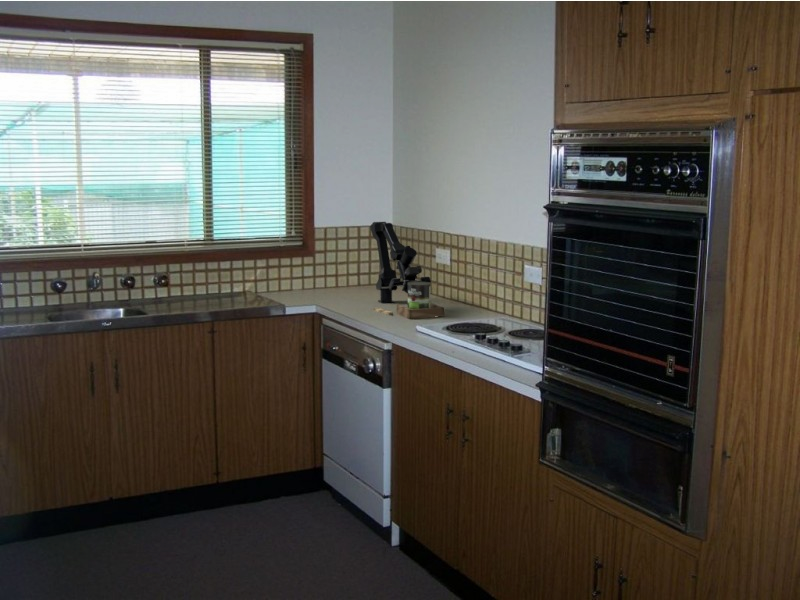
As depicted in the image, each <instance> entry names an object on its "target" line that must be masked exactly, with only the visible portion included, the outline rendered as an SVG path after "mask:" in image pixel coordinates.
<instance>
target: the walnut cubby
mask: <svg viewBox="0 0 800 600" xmlns="http://www.w3.org/2000/svg"><path fill="white" fill-rule="evenodd" d="M396 314H397V315H399V316H402V317H403V316H404V317H403V318H405V319H408V320H415V319H417V320H419V319H429V318H428V317H432V318H436V317H435V316H444V317H445V307H443V306H442V305H438V304H437V303H433V302H431V301H430V308H424V309H409V308H408V307H406V306H403V305H401V304H396Z"/></svg>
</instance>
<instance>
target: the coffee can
mask: <svg viewBox="0 0 800 600" xmlns="http://www.w3.org/2000/svg"><path fill="white" fill-rule="evenodd" d="M431 285H432V283H431V282H430V283H429V282H424V281H413V282H408V294H407V308H409V309H424V308H430V302H431Z"/></svg>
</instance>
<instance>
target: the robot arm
mask: <svg viewBox="0 0 800 600" xmlns="http://www.w3.org/2000/svg"><path fill="white" fill-rule="evenodd" d="M370 232H371V235H372V237H373V239H374V240H375V241H376V246H377V251H378V257H379V258H378V259H379V264H380V265H379V266H380V272H379V273H378V280H377V282H376V283H375V287H376V288H375V289H376V290H378V291H379V294H380V295H379V297H380V299H379V300H378V299H377V302H379V303H382V304H389V303H390V304H391V303H396V302H395V300H393V291H397V289H398V287H402V289H401V291H402V292H404V293H406V294H407V295H408V282H413V281H424V282H429V283H431V282H432V280H431V277H430V276H421V277H420V279H417V278H418V276H417V275H419V274H421V273H422V272H423V269H422V266H421V265H416V266H411V264H413V262H414V261H415V258H416V256H417V253H418V252H417V250H415V249H414V248H413V247H411V245H404V244H402V243H401V242H400V240H399V238H398V236H397V234H396V232H395V230H394V224H393V223H392V222H386V221H374V222H372V223H371V224H370ZM388 246H389V247H388ZM389 248H390V253H389ZM390 258H391V259H390ZM391 260H392V261H393V262H396V270H398V272H399V275H400V276H399V277H397V273H396V270H395V269H393V268H392V266H391Z"/></svg>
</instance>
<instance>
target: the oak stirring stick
mask: <svg viewBox="0 0 800 600" xmlns="http://www.w3.org/2000/svg"><path fill="white" fill-rule="evenodd" d="M373 310H374V311H373ZM372 311H373V312H376V311H377V313H379V312H380V313H381V314H383V313H384V314H383V315H386V314H387V316H393V315H394V312H393V311H390V310H387V309H383V308H380V307H372Z"/></svg>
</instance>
